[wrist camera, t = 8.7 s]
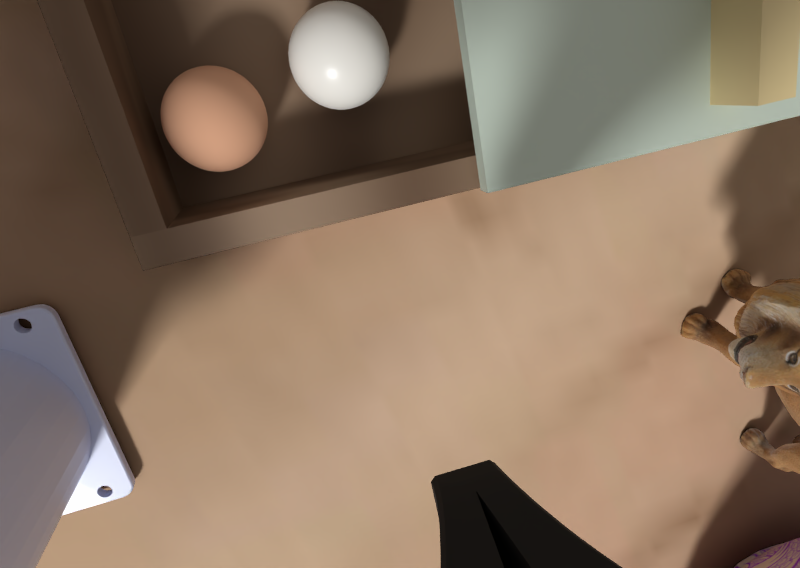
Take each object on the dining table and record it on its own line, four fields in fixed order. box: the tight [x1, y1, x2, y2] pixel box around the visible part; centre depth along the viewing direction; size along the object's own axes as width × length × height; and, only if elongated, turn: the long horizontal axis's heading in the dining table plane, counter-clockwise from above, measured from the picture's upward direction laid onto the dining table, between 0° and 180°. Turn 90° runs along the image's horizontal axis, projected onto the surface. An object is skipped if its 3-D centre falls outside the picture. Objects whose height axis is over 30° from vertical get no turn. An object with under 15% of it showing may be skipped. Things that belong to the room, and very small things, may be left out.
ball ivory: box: [288, 1, 390, 110], centre depth 16 cm, size 3×3×3 cm
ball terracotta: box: [160, 65, 268, 172], centre depth 16 cm, size 3×3×3 cm
